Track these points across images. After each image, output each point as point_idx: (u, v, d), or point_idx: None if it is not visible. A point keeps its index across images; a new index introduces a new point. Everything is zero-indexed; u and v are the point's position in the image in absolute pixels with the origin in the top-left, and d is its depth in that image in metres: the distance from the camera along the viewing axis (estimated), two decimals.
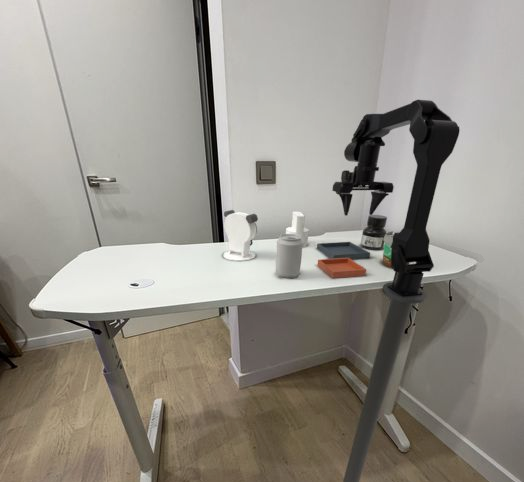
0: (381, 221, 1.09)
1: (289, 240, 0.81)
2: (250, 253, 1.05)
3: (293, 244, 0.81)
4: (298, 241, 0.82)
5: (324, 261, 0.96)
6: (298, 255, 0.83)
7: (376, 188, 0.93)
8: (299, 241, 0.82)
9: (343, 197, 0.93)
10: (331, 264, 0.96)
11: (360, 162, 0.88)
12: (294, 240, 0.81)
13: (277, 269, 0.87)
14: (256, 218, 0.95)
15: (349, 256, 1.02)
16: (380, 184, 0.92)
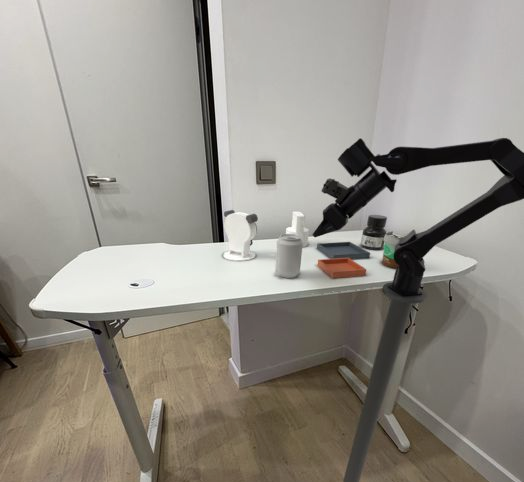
0: (381, 221, 1.09)
1: (289, 240, 0.81)
2: (250, 253, 1.05)
3: (293, 244, 0.81)
4: (298, 241, 0.82)
5: (324, 261, 0.96)
6: (298, 255, 0.83)
7: None
8: (299, 241, 0.82)
9: (326, 221, 0.74)
10: (331, 264, 0.96)
11: (364, 194, 0.70)
12: (294, 240, 0.81)
13: (277, 269, 0.87)
14: (256, 218, 0.95)
15: (349, 256, 1.02)
16: None
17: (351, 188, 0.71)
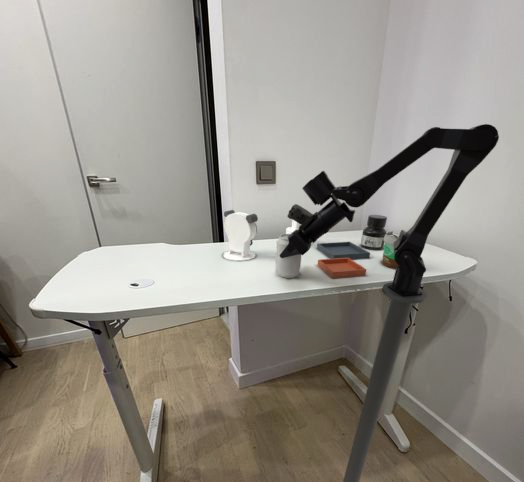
0: (381, 221, 1.09)
1: None
2: (250, 253, 1.05)
3: None
4: None
5: (324, 261, 0.96)
6: (298, 255, 0.83)
7: None
8: None
9: (291, 244, 0.79)
10: (331, 264, 0.96)
11: (326, 222, 0.76)
12: None
13: (277, 269, 0.87)
14: (256, 218, 0.95)
15: (349, 256, 1.02)
16: None
17: (314, 216, 0.76)
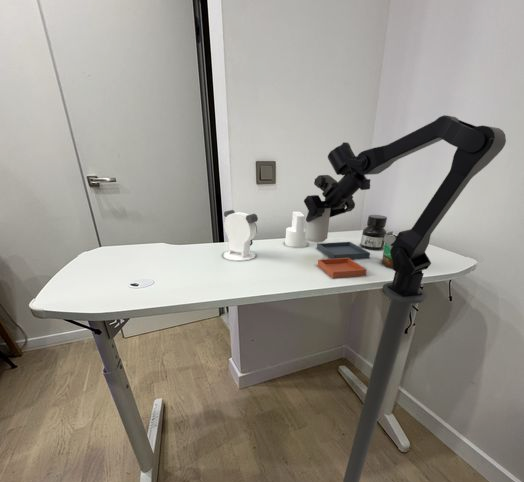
0: (381, 221, 1.09)
1: None
2: (250, 253, 1.05)
3: None
4: None
5: (324, 261, 0.96)
6: (321, 221, 0.93)
7: None
8: None
9: None
10: (331, 264, 0.96)
11: (341, 189, 0.83)
12: None
13: (305, 233, 0.99)
14: (256, 218, 0.95)
15: (349, 256, 1.02)
16: (345, 202, 0.93)
17: (333, 184, 0.85)
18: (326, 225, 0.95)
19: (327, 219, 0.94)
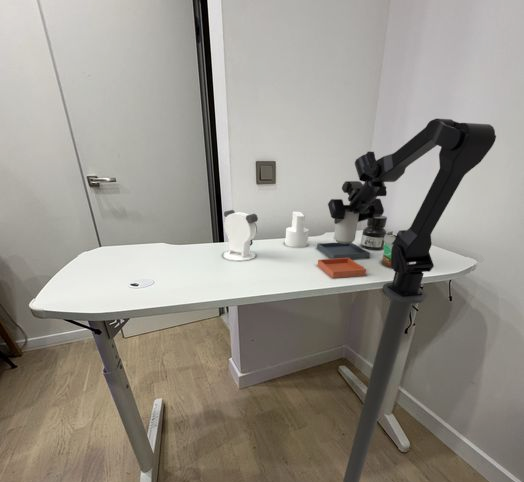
0: (381, 221, 1.09)
1: None
2: (250, 253, 1.05)
3: None
4: None
5: (324, 261, 0.96)
6: (347, 224, 1.00)
7: (368, 209, 0.98)
8: None
9: None
10: (331, 264, 0.96)
11: (360, 195, 0.89)
12: None
13: None
14: (256, 218, 0.95)
15: (349, 256, 1.02)
16: (373, 207, 0.97)
17: (356, 189, 0.92)
18: (352, 228, 1.01)
19: (353, 222, 1.00)
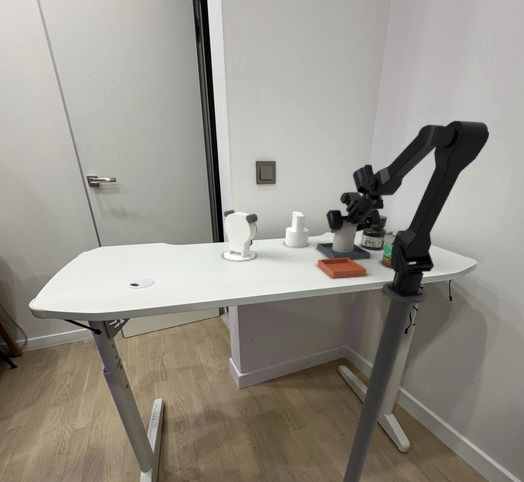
0: (381, 221, 1.09)
1: None
2: (250, 253, 1.05)
3: None
4: (347, 224, 1.01)
5: (324, 261, 0.96)
6: (345, 235, 1.02)
7: (366, 219, 1.00)
8: (348, 224, 1.01)
9: None
10: (331, 264, 0.96)
11: (358, 207, 0.91)
12: None
13: None
14: (256, 218, 0.95)
15: (349, 256, 1.02)
16: (370, 218, 0.99)
17: (354, 201, 0.93)
18: (350, 239, 1.03)
19: (351, 234, 1.02)
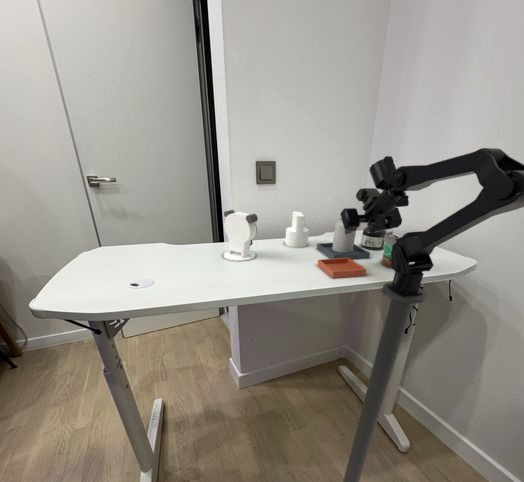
0: None
1: (340, 221, 1.02)
2: (250, 253, 1.05)
3: (341, 225, 1.02)
4: None
5: (324, 261, 0.96)
6: (345, 235, 1.02)
7: (385, 218, 0.89)
8: None
9: None
10: (331, 264, 0.96)
11: (377, 204, 0.80)
12: None
13: None
14: (256, 218, 0.95)
15: (349, 256, 1.02)
16: (390, 217, 0.88)
17: (372, 198, 0.83)
18: (350, 239, 1.03)
19: (351, 234, 1.02)
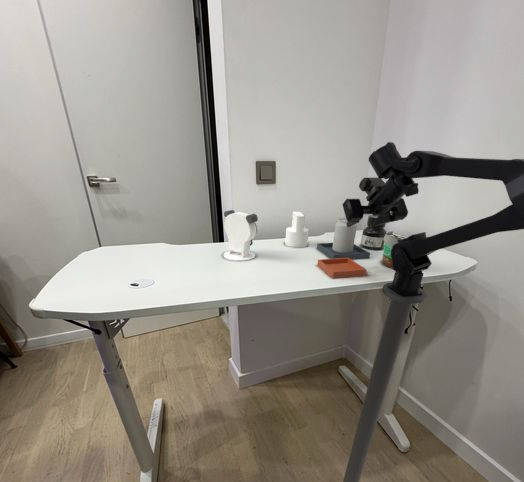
0: None
1: (340, 221, 1.02)
2: (250, 253, 1.05)
3: (341, 225, 1.02)
4: None
5: (324, 261, 0.96)
6: (345, 235, 1.02)
7: (389, 210, 0.84)
8: None
9: None
10: (331, 264, 0.96)
11: (382, 194, 0.75)
12: (343, 222, 1.01)
13: None
14: (256, 218, 0.95)
15: (349, 256, 1.02)
16: (395, 209, 0.83)
17: (377, 187, 0.77)
18: (350, 239, 1.03)
19: (351, 234, 1.02)
